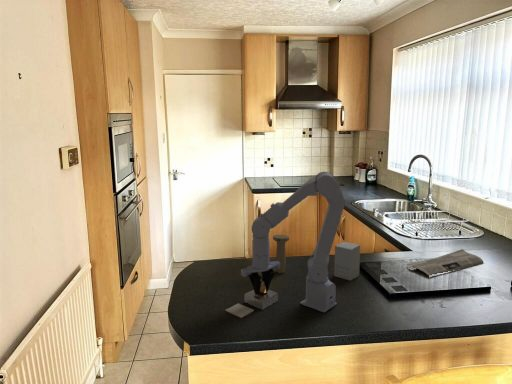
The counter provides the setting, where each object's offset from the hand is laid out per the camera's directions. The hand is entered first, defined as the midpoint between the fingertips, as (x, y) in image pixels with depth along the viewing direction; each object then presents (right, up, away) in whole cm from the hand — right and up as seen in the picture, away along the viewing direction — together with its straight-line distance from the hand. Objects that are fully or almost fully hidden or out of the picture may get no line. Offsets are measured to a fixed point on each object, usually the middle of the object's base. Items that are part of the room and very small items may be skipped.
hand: (261, 291), depth 132 cm
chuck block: (0, -4, +1) cm, 4 cm away
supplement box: (+34, 0, +22) cm, 41 cm away
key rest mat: (-7, -5, -6) cm, 10 cm away
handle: (+8, +1, +26) cm, 28 cm away
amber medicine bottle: (0, -3, 0) cm, 3 cm away
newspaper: (+78, +2, +33) cm, 85 cm away
